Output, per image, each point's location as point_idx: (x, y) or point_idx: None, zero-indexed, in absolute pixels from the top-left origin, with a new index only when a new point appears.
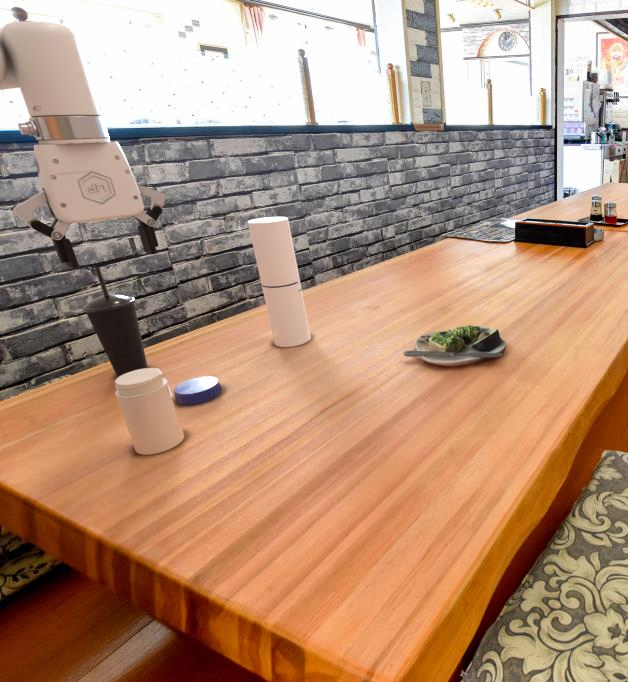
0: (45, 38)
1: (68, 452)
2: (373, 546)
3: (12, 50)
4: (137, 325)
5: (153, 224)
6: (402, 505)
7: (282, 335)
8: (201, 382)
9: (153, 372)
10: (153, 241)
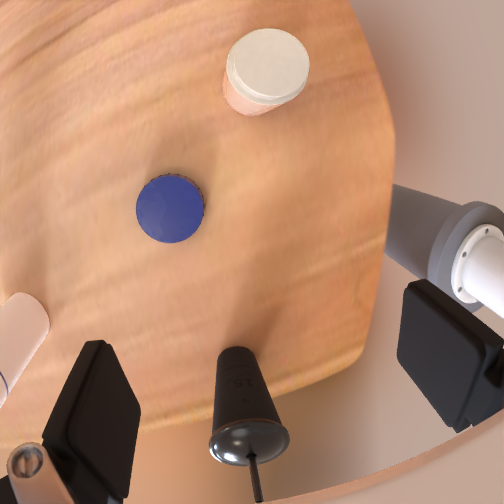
0: None
1: (344, 156)
2: None
3: None
4: (216, 404)
5: (26, 453)
6: None
7: (29, 310)
8: (160, 214)
9: (246, 56)
10: (70, 376)
